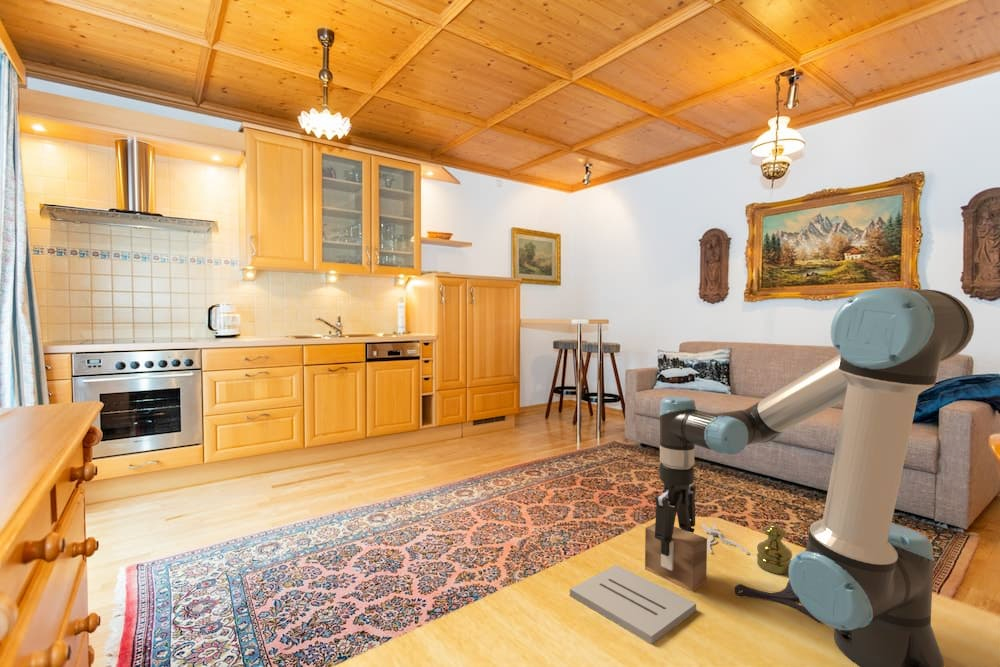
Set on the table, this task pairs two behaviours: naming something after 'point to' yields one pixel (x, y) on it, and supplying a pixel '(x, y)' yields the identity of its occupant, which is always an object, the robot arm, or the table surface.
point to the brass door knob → (774, 551)
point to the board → (633, 602)
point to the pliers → (715, 533)
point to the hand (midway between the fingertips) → (675, 562)
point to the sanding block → (678, 558)
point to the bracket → (775, 597)
